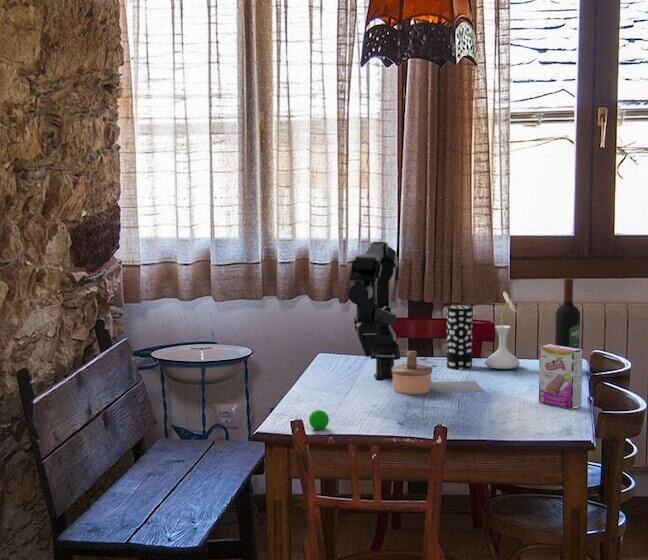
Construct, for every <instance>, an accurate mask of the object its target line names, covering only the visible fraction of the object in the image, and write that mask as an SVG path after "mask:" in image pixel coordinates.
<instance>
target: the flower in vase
mask: <svg viewBox="0 0 648 560" xmlns="http://www.w3.org/2000/svg"><path fill="white" fill-rule="evenodd" d="M502 295H503V297H504V300H505V305H504V306H503V309H502V311H501V313H500V318H501V319H500V320H499V322H500V323H501V324H500V325H496V326H494V327H495V329H496V331H497V334H498V340H499V342H498V348H497V349H496V350H495V351H494V353H492V354H491V355H489V356H488V357H487V358H486V359H485V362H484V364H485V366H487V367H489V368H491V369H496V370H511V369H512V370H513V369H515V368H518V367H519V366H520V365H521V362H520V360H519V359H518V357H516V356H515V355H514V354H513V353H512V352H510V351H509V350H508V347H507V338H508V333H509V330H510V329H511V326H510V325H505V324H504V322H506V321H507V320H508V317H506V316H504V317H503V315H504V311H505V309H506V307H507V306H508V307H509V308H510V310H511V311H512V312H513V313H517V312H518V310H517V309H516V307H517V306H516V305H515V304H514V303H513V299H512V298H510V297H509V294H508V293H507V292H506V291H503V293H502ZM503 324H504V325H503Z"/></svg>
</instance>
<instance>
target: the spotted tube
mask: <svg viewBox="0 0 648 560" xmlns="http://www.w3.org/2000/svg"><path fill="white" fill-rule="evenodd" d="M473 307H474V306H471V305H461V304H460V305H458V304H457V305H454V304H453V305H448V306H447V307H446V368H447V369H451V370H457V371H459V370H460V371H461V370H464V369H465V370H470V369H472V368H473V321H474V319H473Z"/></svg>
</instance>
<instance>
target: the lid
mask: <svg viewBox="0 0 648 560" xmlns="http://www.w3.org/2000/svg"><path fill="white" fill-rule="evenodd" d="M417 354H418V353H417V350H408V351H407V352H406V363H405V364H399V365H394V366H393V367H392V373H394V374H397V375H403V376H422V375H428V374H431V375H432V373H433V367H432V366H429V365H425V364H417V362H418V361H417V360H418V359H417V357H418V355H417Z"/></svg>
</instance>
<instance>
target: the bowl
mask: <svg viewBox="0 0 648 560" xmlns="http://www.w3.org/2000/svg"><path fill="white" fill-rule="evenodd" d="M431 382H432V373H431V374H428V375H422V376H403V375H397V374H394V373H393V379H392V389H393V391H394V392H395V393H398V394H403V395H421V394H423V395H424V394H426V393H428V392H430V390H432V387H431V386H432V384H431Z"/></svg>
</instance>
